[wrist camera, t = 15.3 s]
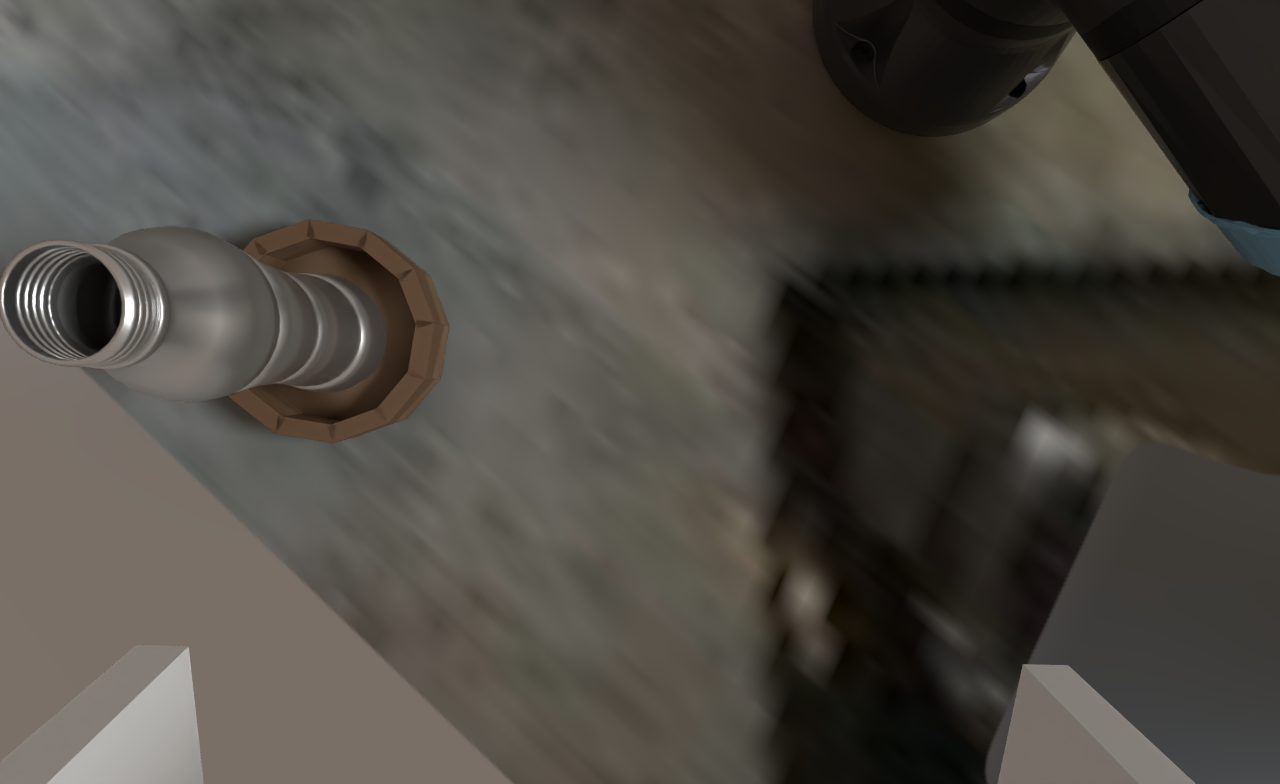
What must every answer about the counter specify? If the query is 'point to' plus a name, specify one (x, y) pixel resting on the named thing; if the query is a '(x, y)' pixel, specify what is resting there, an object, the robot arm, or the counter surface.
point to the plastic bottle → (188, 316)
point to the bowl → (409, 326)
